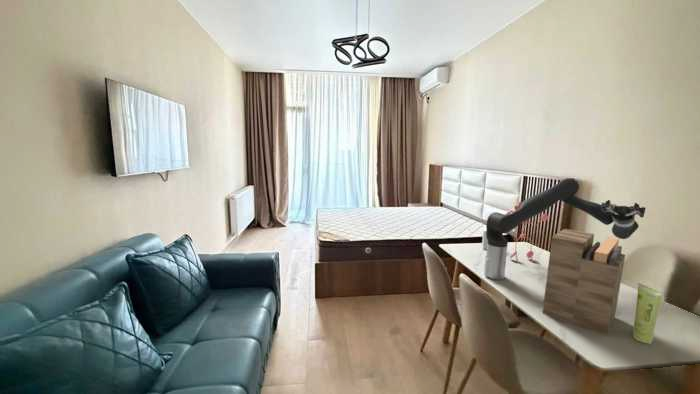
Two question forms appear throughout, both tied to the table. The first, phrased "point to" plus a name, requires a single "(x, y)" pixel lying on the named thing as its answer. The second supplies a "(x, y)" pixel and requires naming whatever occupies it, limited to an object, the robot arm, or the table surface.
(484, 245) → the supplement box
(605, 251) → the bar
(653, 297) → the tube
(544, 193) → the robot arm
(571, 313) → the wooden knife block
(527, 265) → the table surface
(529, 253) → the figurine
